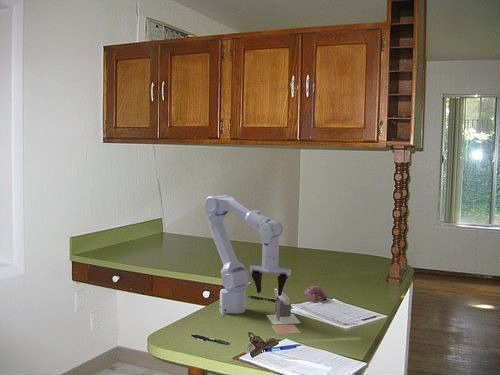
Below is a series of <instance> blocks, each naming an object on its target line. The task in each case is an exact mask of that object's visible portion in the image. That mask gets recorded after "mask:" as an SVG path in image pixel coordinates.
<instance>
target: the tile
mask: <svg viewBox="0 0 500 375" xmlns="http://www.w3.org/2000/svg"><path fill="white" fill-rule="evenodd" d="M271 327H272V330H274V332H275V333H276V335H284V334H286V335H287V334H301V331H300V330H299V329H298V328H297V327H296V325H295V324H275V325H273V324H272V325H271Z"/></svg>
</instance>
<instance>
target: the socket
mask: <svg viewBox="0 0 500 375" xmlns="http://www.w3.org/2000/svg"><path fill="white" fill-rule="evenodd" d="M274 298H275V300H274V301H275V302H274V303H275V306H274V307H275V308H274V312H275V314H266V316H267V318H268V320H269V321H270V323H272V324H271V325H272V326H273V325H292V324H294V325H295V324H301V323H302V322H301V321H300V320H299V319H298V318H297V317H296V315H295V314H294V313H291V316H287V317H280V321H279V320H278V319H277V301H281V300H280V299H279V297H278V296H277V295H275V297H274Z"/></svg>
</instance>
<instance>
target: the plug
mask: <svg viewBox="0 0 500 375" xmlns="http://www.w3.org/2000/svg"><path fill="white" fill-rule="evenodd" d="M291 311H292V304H291V302H290V305H285V304H284V303H283V302H282V301H281V300H280V301H277V319H278V320H279V321H280V317H287V316H291V314H292V312H291Z"/></svg>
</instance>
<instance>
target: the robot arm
mask: <svg viewBox="0 0 500 375" xmlns="http://www.w3.org/2000/svg"><path fill="white" fill-rule="evenodd" d="M202 207H203V209H204V212H205V215H206V222H207V225H208V228H209V230H210V234H211V237H212V239H213V242H214V245H215V247H216V249H217V252H218V255H219V257H220V259H221V263H222V265H223V267H222V269H221V270H220V275H221V281H222V282H221V283H222V286H223V287H224V288H222V289H220V291H219V312H220V314H221V316H223V317H225V314H242V313H243V314H244V313H245V312H246V299H247V298H246V297H247V296H246V295H247V292H246V291H247V288H248V284H249V283H250V281H251V277H252V280H253V282H254V284H255V288H256V292H257V294H260V293H261V292H262V279H263V274H269V275H270V274H272V275H278V276H277V285H278V287H277V288H278V296H281V295H282V291H283V290H284V287H285V284H286V282H287V279H288V278H289V277H290V276H291V274H292V270H291V269H290V268H284V267H280V266H279V258H280V257H279V256H280V254H279V252H280V251H279V250H280V236H281V235H282V233H283V229H284V228H283V224H282V223H281V222H280V221H279V220H277V219H273V220H272V219H271V218H270V217H269V216H265V215H264V214H262V213H261V211H260V210H258V209H257V210H249V209H248V208H246V207H245V206H243V205H242V204H241V203H239V202H238V201H237V200H235V198H234V197H233V196H230V195H229V194H223V195H214V196H213V195H209V196H207V198H205V200H204V204H203V206H202ZM230 212H231V213H233V214H235V215H236V216H238V217H240V218H241V219H244V220H245V223H246V225H247V226H250V228H252V229H254V230H256V231H257V232H259V235H260V237H261V242H262V246H261V247H262V250H261V251H262V252H261V253H262V254H261V265H254V264H253V265H252V264H251V265H250V266H249V271H248V269H246V267H245V264H243V263H242V262H240V261H239V260H238V258H237V255H236V253H235V250H234V247H233V245H232V243H231V240H230V237H229V234H228V233H227V230H226V227H225V224H224V220H225V219H226V217H227V215H228V214H229V213H230ZM249 272H250V273H251V275H250V273H249Z"/></svg>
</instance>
